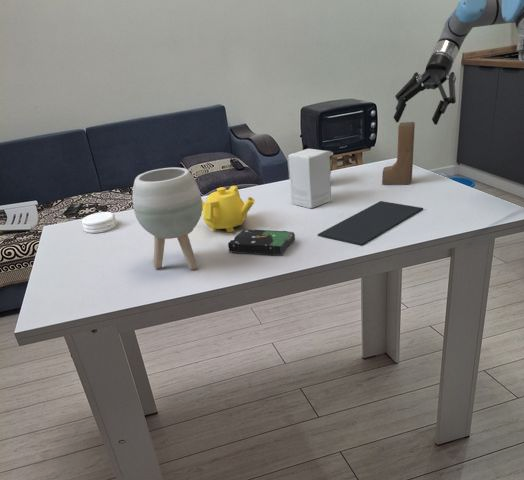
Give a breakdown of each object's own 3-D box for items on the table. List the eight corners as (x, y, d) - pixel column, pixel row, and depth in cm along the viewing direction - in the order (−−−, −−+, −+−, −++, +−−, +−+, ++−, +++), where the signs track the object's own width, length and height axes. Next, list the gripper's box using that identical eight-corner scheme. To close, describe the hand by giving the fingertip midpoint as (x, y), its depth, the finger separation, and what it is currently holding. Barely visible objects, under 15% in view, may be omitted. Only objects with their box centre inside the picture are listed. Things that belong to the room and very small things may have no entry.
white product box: (332, 201, 165) (330, 150, 157) (311, 209, 161) (308, 157, 153) (311, 196, 171) (309, 147, 163) (291, 204, 167) (287, 154, 159)
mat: (423, 209, 151) (423, 207, 151) (361, 245, 134) (361, 243, 133) (380, 202, 159) (380, 200, 159) (317, 235, 142) (317, 234, 142)
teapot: (181, 235, 153) (173, 196, 147) (212, 214, 166) (206, 178, 160) (243, 240, 145) (237, 199, 139) (270, 217, 158) (267, 179, 152)
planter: (194, 246, 145) (179, 161, 133) (222, 264, 133) (208, 172, 121) (138, 264, 138) (117, 176, 126) (163, 284, 126) (142, 189, 114)
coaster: (100, 220, 172) (97, 210, 170) (123, 223, 167) (121, 212, 165) (77, 232, 165) (74, 221, 163) (101, 235, 160) (97, 223, 158)
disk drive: (228, 253, 138) (282, 256, 133) (227, 243, 137) (281, 245, 132) (244, 238, 146) (295, 240, 141) (243, 228, 145) (294, 230, 139)
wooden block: (382, 184, 174) (383, 126, 164) (383, 180, 177) (385, 122, 168) (410, 184, 171) (413, 124, 161) (411, 180, 174) (414, 121, 165)
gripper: (482, 68, 166) (454, 130, 166) (410, 69, 182) (385, 125, 181) (476, 51, 160) (448, 115, 160) (402, 53, 176) (376, 112, 175)
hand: (414, 121), depth 170 cm, fingers open, 13 cm apart
